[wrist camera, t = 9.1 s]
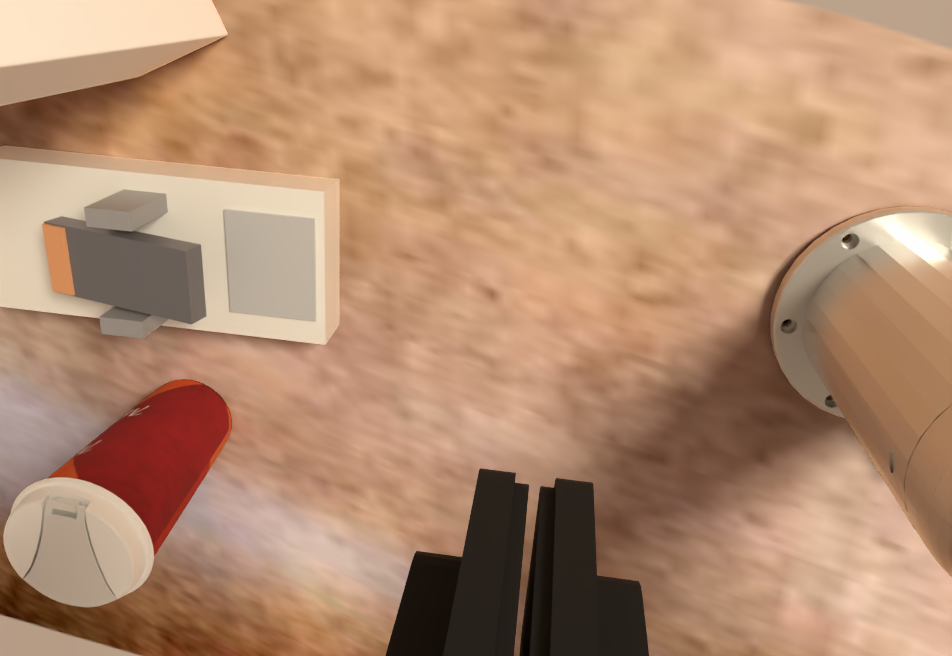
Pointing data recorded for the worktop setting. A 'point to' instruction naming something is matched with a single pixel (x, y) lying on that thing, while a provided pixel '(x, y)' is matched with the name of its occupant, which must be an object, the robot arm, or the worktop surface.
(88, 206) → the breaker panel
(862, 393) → the robot arm
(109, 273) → the breaker paddle
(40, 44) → the milk
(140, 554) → the paper cup
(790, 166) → the worktop surface
